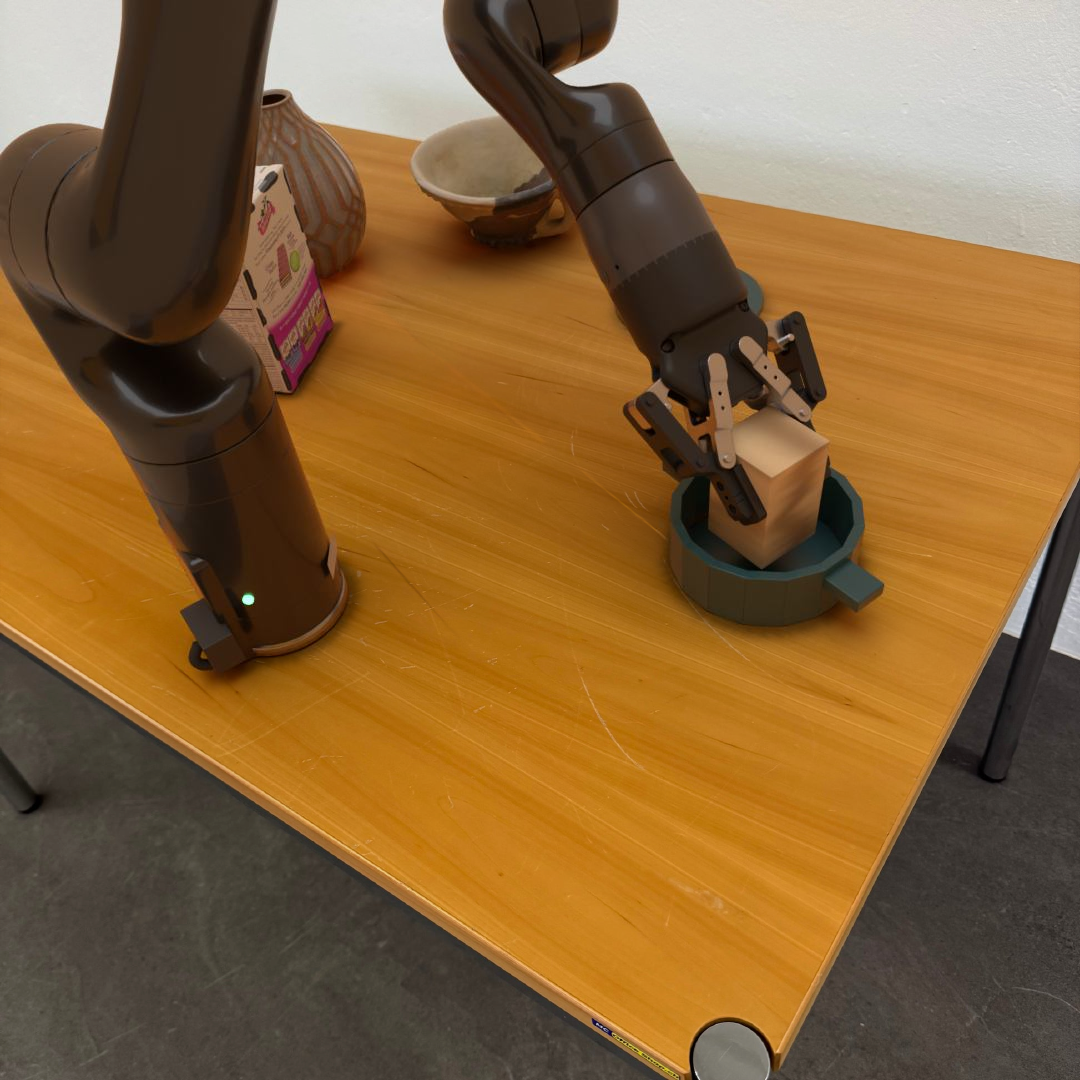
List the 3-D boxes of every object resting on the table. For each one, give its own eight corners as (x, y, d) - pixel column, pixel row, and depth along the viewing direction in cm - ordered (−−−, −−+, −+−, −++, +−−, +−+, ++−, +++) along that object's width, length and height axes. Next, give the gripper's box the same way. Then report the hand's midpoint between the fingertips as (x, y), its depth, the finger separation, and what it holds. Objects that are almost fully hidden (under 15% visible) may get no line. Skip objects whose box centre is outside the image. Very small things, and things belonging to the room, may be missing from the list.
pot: (793, 688, 58) (801, 639, 55) (610, 534, 69) (607, 484, 66) (926, 588, 63) (941, 536, 59) (734, 457, 73) (737, 407, 70)
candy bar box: (288, 324, 94) (233, 162, 82) (335, 326, 93) (286, 161, 81) (242, 394, 86) (174, 226, 74) (292, 396, 85) (232, 226, 73)
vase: (344, 303, 95) (295, 129, 83) (234, 292, 99) (170, 124, 87) (398, 238, 104) (360, 71, 91) (294, 231, 107) (244, 69, 95)
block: (761, 570, 61) (771, 477, 56) (707, 529, 64) (712, 437, 59) (815, 533, 63) (830, 440, 57) (760, 495, 66) (769, 403, 60)
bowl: (393, 260, 100) (372, 173, 94) (487, 186, 110) (474, 102, 104) (533, 294, 93) (521, 202, 86) (620, 211, 103) (616, 122, 96)
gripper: (594, 280, 52) (738, 549, 53) (778, 192, 57) (905, 438, 59) (545, 325, 59) (673, 561, 60) (713, 242, 64) (828, 462, 66)
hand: (787, 499), depth 60 cm, fingers closed on block, 5 cm apart
